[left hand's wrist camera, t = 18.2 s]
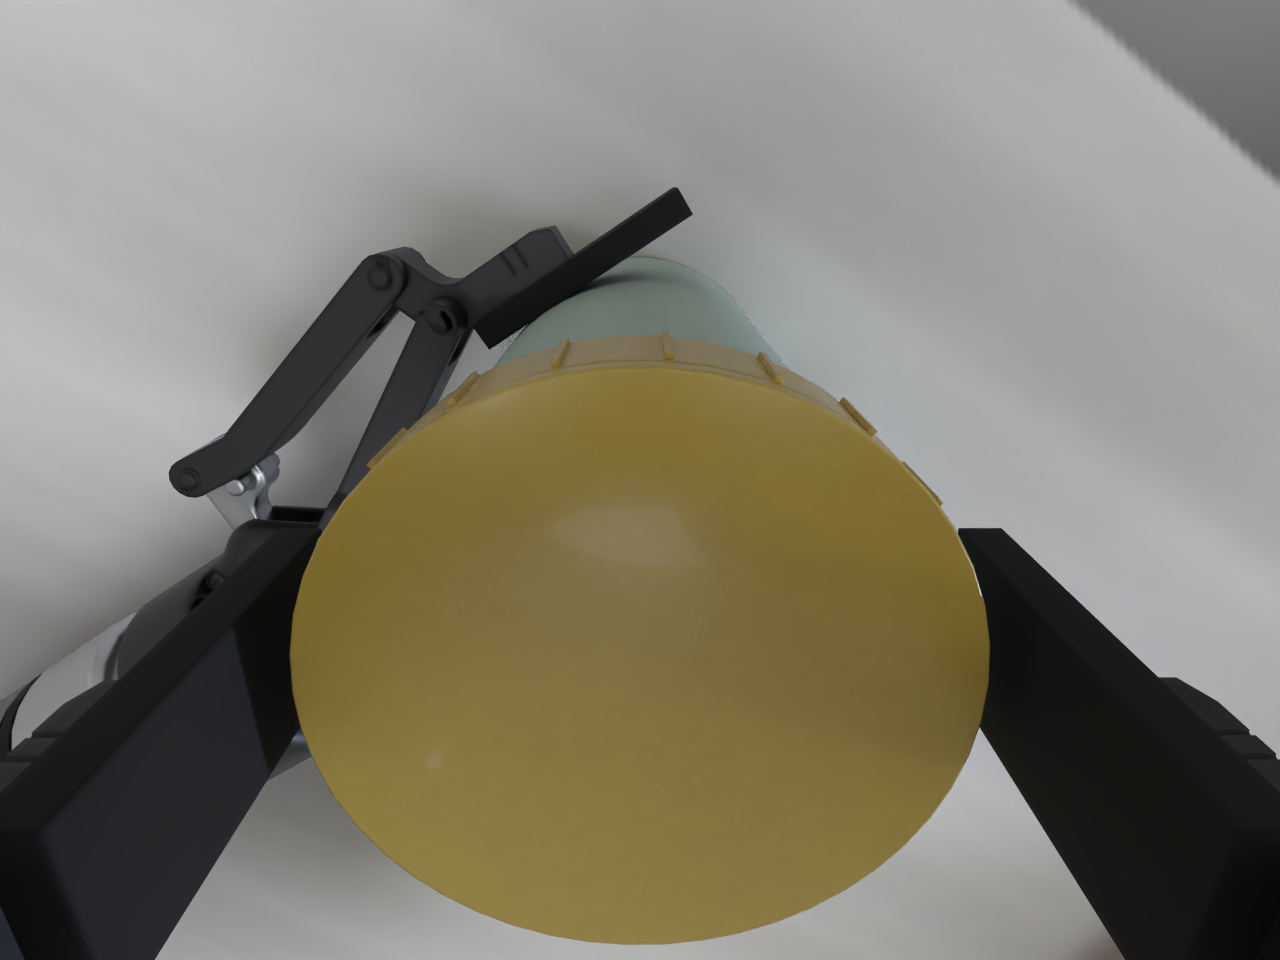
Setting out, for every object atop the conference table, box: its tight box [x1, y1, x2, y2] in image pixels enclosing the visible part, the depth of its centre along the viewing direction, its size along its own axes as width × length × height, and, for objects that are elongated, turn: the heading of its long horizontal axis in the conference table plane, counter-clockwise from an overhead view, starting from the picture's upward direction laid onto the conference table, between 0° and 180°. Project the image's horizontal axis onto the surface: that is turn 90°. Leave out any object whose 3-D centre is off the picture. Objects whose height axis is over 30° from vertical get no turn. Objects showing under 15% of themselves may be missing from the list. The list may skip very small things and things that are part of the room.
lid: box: [290, 331, 990, 945], centre depth 11 cm, size 10×10×2 cm
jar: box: [491, 257, 788, 370], centre depth 20 cm, size 9×9×18 cm
